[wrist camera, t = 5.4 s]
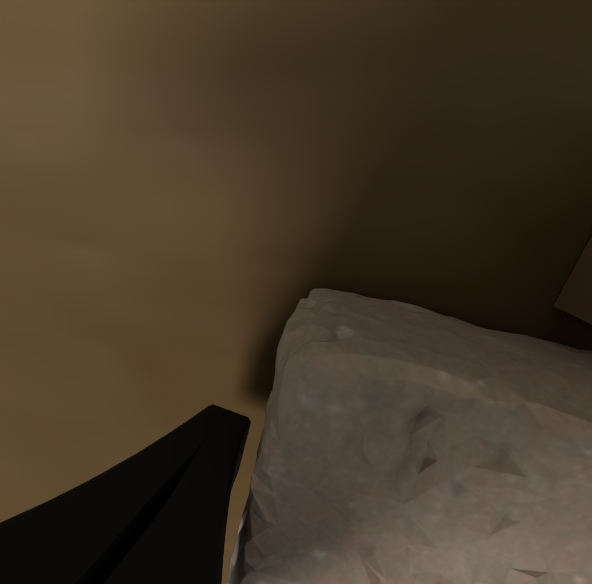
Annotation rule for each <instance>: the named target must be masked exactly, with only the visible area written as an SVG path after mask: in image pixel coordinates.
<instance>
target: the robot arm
mask: <svg viewBox="0 0 592 584" xmlns="http://www.w3.org/2000/svg"><path fill="white" fill-rule="evenodd" d="M250 424H251V422H250V420H249V418H248V417H246V416H243V415H240V414H238V413H235V412H232V411H230V410H227V409H224V408H221V407H219V406H216V405H213V404H212V405H210V406H208V407H206V408H205V409H204V410H202V411H201V412H199V413H198V414H196V415H195V416H194V417H192V418H191V419H189V420H188V421H186V422H185V423H183V424H182V425H180V426H179V427H177V428H176V429H174V430H173V431H172V432H170V433H168V434H167V435H165V436H164V437H162V438H161V439H159V440H157V441H156V442H154V443H153V444H151V445H149V446H148V447H146V448H145V449H143V450H141V451H140V452H138V453H137V454H135V455H133V456H131V457H130V458H128V459H126V460H124V461H123V462H121V463H119V464H117V465H116V466H114V467H112V468H110V469H109V470H107V471H105V472H103V473H102V474H100V475H98V476H96V477H94V478H92V479H90V480H89V481H87V482H85V483H83V484H81V485H79V486H77V487H75V488H73V489H71V490H69V491H67V492H65V493H63V494H61V495H59V496H57V497H55V498H53V499H51V500H49V501H47V502H45V503H43V504H41V505H38V506H36V507H34V508H32V509H30V510H27V511H25V512H23V513H21V514H19V515H16V516H14V517H12V518H10V519H8V520H5V521H3V522H1V523H0V584H221V582H222V568H223V554H224V543H225V533H226V524H227V516H228V507H229V500H230V493H231V489H232V486H233V484H234V481H235V478H236V476H237V473H238V470H239V467H240V463H241V459H242V455H243V451H244V447H245V443H246V439H247V435H248V431H249V427H250Z"/></svg>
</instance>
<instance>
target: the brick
mask: <svg viewBox="0 0 592 584" xmlns="http://www.w3.org/2000/svg"><path fill="white" fill-rule="evenodd" d="M228 584H592V350H579V349H575V348H572V347H569V346H565V345H562V344H558V343H555V342H551V341H546V340H542V339H537V338H534V337H531V336H528V335H521V334H514V333H508V332H502V331H496V330H490V329H485V328H482V327H478V326H475V325H472V324H470V323H467V322H465V321H462V320H459V319H457V318H453V317H448V316H443V315H441V314H438V313H435V312H433V311H430V310H427V309H424V308H422V307H419V306H416V305H412V304H407V303H403V302H398V301H392V300H381V299H375V298H370V297H364V296H361V295H358V294H355V293H349V292H343V291H337V290H332V289H327V288H324V289H313V290H311V291H310V293H309V296H308V298H301V300H300V301H299V303H298V305H297V307H296V310H295V312H294V313H293V314H292V316H291V317H290V318H289V319H288V321H287V323H286V326H285V328H284V331H283V334H282V336H281V339H280V342H279V344H278V348H277V355H276V365H275V377H274V384H273V390H272V392H271V394H270V396H269V399H268V401H267V404H266V413H265V426H264V429H263V432H262V436H261V440H260V443H259V447H258V451H257V459H256V465H255V468H254V471H253V474H252V478H251V484H250V493H249V496H248V499H247V502H246V505H245V508H244V512H243V514H242V519H241V523H240V526H239V530H238V535H237V539H236V545H235V550H234V552H233V554H232V556H231V564H230V572H229V578H228Z"/></svg>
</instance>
